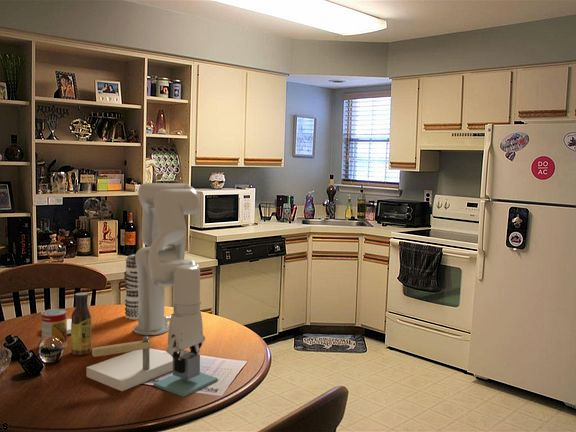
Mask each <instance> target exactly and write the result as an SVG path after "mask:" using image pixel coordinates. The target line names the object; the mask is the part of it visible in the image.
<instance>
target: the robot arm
mask: <svg viewBox="0 0 576 432" xmlns="http://www.w3.org/2000/svg"><path fill="white" fill-rule="evenodd" d="M137 193H138V194H137V195H138V196H137V197H138V201H139V203H140V205H141V208H142V218H141V219H142V220H141V232H140V233H141V241H142V243H143V244H144V245H145V247H144V246H142V247H141V248H140V249H138V250H137V251H136V253H135V254H136V258H135V259H136V266H137V273H138V319H137V322H138V324H136V325H135V326H134V328H133V332H134V333H136V334H137V335H142V336H157V335H162V334H164V333H167V332H168V334H167V348H166V351H165V352H166V354H168V355H170V356H172V357H173V358H174V370H175V371H176V372H179V373H183V372H184V360H183V359H182V357H183V352H184V350H186V349H189V352H193V353H196V354H199V353H200V351H201V350H200V349H201V347H202V345H203V343H204V342H205V340H206V337H205V335H204V333H203V331H204V328H203V327H204V325H203V316H202V312H201V305H202V302H201V269H200V266H199V264H198V263H197V261H196V260H195V259H194V260H193V259H185V255H186V253H185V252H186V245H187V231H188V230H187V224H186V219H185V216H188V215H196V214H197V213H199V211H200V207H201V201H200V200H201V199H200V196H199V193H198V192H197V190H196V189H195V188H194V187H193V186H191V185H190V184H188V183H184V182H183V183H181V182H179V183H178V182H177V183H176V182H173V183H172V182H170V183H167V182H146V183H142V184H141V185H140V186H139V188H138V192H137ZM172 286H173V295H172V296H173V300H172V301H173V303H172V304H173V306H172V307H173V308H172V309H173V311H172V312H173V313H172V314H171V315H169V316H167V315H165V314H166V313H165V303H166V301H165V298H166V297H165V293H166V292H165V287H172ZM168 322H169V324H167V323H168ZM178 353H179V354H178Z"/></svg>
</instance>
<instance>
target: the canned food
mask: <svg viewBox="0 0 576 432" xmlns="http://www.w3.org/2000/svg"><path fill="white" fill-rule="evenodd" d="M67 313H68V312H67V310H66V309H63V308H52V309H51V308H50V309H46V310H43V311H42V312H41V314H40V318H41V341H42V340H43V339H45V338H47V337H54V338H57V339H59V340H60V341H61V342H62V343H63V345H64V348H63V349H65V348H66V347H68V334H67V319H68V317H67Z"/></svg>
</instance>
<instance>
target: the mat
mask: <svg viewBox="0 0 576 432" xmlns="http://www.w3.org/2000/svg"><path fill="white" fill-rule="evenodd" d="M218 381H219V378H218V377H215V376H212V375H210V374H209V375H208V374H206V373H203V372H201V371H200V375H198V376H196V377H193V378H191V379H189V380H186V379H183V378H180V377H177V376H175V375H173V374H172V375H169V376H168V377H165V378H162V379H160V380H158V381H155V382H153V386H154V387H156V388H159V389H162V390H164V391H167V392H169V393H171V394H174V395H178V396H180V397H182V398H184V397H187V396H189V395H191V394H194V393H195V392H197V391H199V390H201V389H203V388H205V387H207V386H210V385H211V384H214V383H216V382H218Z"/></svg>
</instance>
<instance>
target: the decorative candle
mask: <svg viewBox="0 0 576 432" xmlns="http://www.w3.org/2000/svg"><path fill="white" fill-rule="evenodd" d="M135 258H136V253H133V254H129V255H127V258H125V259H124V260H125V271H124V273H123V275H124V277H123V279H124V289H125V290H126V291H125V293H126V294H125V299H124V303H125V304H124V305H125V307H124V311H125V312H124V314H125V316H124V317H125V318H126V319H127V318H129V319H128V320H138V273H137V266H136V259H135Z"/></svg>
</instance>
